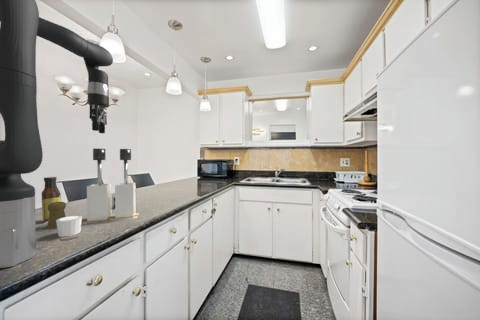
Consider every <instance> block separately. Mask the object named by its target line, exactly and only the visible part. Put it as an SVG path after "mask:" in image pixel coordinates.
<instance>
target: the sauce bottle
mask: <svg viewBox="0 0 480 320" xmlns="http://www.w3.org/2000/svg"><path fill="white" fill-rule="evenodd" d="M57 179H58V178H57V176H47V177H46V176H45V177H43V181H44V188H43V190H42V191H41V215H42V222H43V223H48V219H49V213H50V211H49V210H48V205H49V204H50V203H53V202H62V194H61V191H60V190H59V188H58V186H57Z"/></svg>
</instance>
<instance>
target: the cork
mask: <svg viewBox="0 0 480 320" xmlns="http://www.w3.org/2000/svg"><path fill="white" fill-rule="evenodd" d="M66 207H67V204H66V202H65V201H61V202H53V203H50V204H49V205H48V210H49V211H50V213H49V219H48V221H47V226H46V228H47V229H48V230H49V229H51V230H52V229H57V223H56V220H57V219H60V218H63V217H66V213H65V209H66Z"/></svg>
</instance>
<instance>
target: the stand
mask: <svg viewBox="0 0 480 320" xmlns="http://www.w3.org/2000/svg"><path fill="white" fill-rule="evenodd" d="M139 214H140V211H136V214H135V216H134V217H133V218H124V219H115V214H111V217H110V218H109V219H108V220H105V221H96V222H87V219H85V221H83V222H81V225H86V224H94V223H103V222H104V223H105V222H106V223H107V222H114V221H115V222H116V221H123V220H125V221H126V220H132V219H138V217H139Z"/></svg>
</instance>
